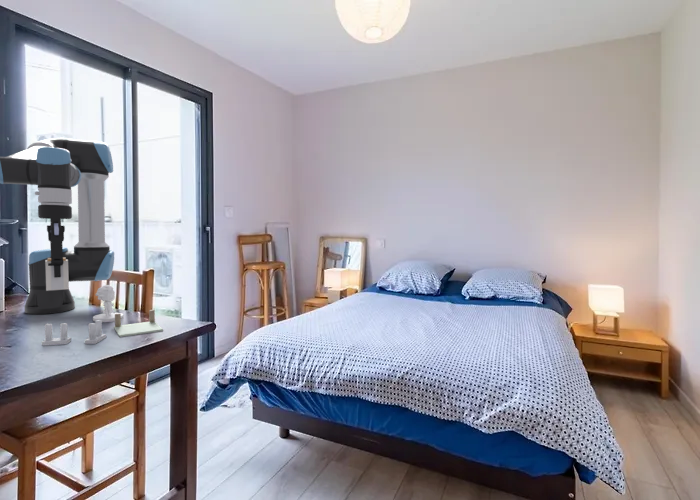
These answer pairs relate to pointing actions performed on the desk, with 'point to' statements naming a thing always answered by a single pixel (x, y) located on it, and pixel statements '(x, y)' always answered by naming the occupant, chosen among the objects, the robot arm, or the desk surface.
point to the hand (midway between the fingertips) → (57, 287)
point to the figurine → (106, 304)
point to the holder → (136, 326)
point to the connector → (65, 274)
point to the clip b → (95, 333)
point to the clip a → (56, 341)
